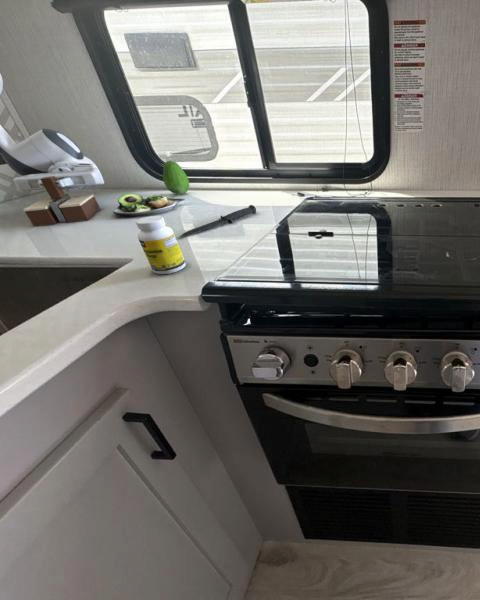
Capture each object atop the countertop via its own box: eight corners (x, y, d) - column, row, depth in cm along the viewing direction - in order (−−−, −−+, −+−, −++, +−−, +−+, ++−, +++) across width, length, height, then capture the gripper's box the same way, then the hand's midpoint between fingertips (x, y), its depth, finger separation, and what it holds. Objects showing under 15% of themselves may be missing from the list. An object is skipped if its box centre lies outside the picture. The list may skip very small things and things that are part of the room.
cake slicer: (68, 221, 100) (45, 180, 93) (58, 222, 99) (34, 181, 93) (80, 212, 108) (59, 173, 101) (71, 213, 107) (49, 174, 100)
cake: (88, 220, 101) (79, 203, 98) (33, 226, 96) (23, 209, 94) (100, 209, 110) (93, 194, 107) (51, 214, 106) (42, 199, 103)
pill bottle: (146, 274, 70) (122, 223, 64) (169, 261, 75) (149, 213, 69) (171, 276, 68) (149, 225, 63) (193, 263, 74) (174, 215, 68)
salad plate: (189, 198, 120) (184, 185, 118) (183, 212, 106) (178, 197, 104) (126, 205, 114) (119, 191, 111) (111, 220, 100) (103, 205, 97)
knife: (250, 209, 105) (251, 202, 103) (260, 218, 104) (261, 212, 102) (170, 231, 88) (169, 224, 86) (180, 243, 87) (180, 236, 85)
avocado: (185, 196, 122) (173, 162, 116) (164, 196, 122) (151, 162, 116) (197, 191, 129) (186, 158, 123) (177, 191, 129) (165, 158, 123)
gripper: (21, 169, 103) (-4, 177, 92) (101, 163, 110) (86, 170, 99) (34, 189, 106) (11, 200, 95) (110, 182, 113) (97, 192, 102)
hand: (50, 185), depth 97 cm, fingers closed on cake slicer, 2 cm apart
